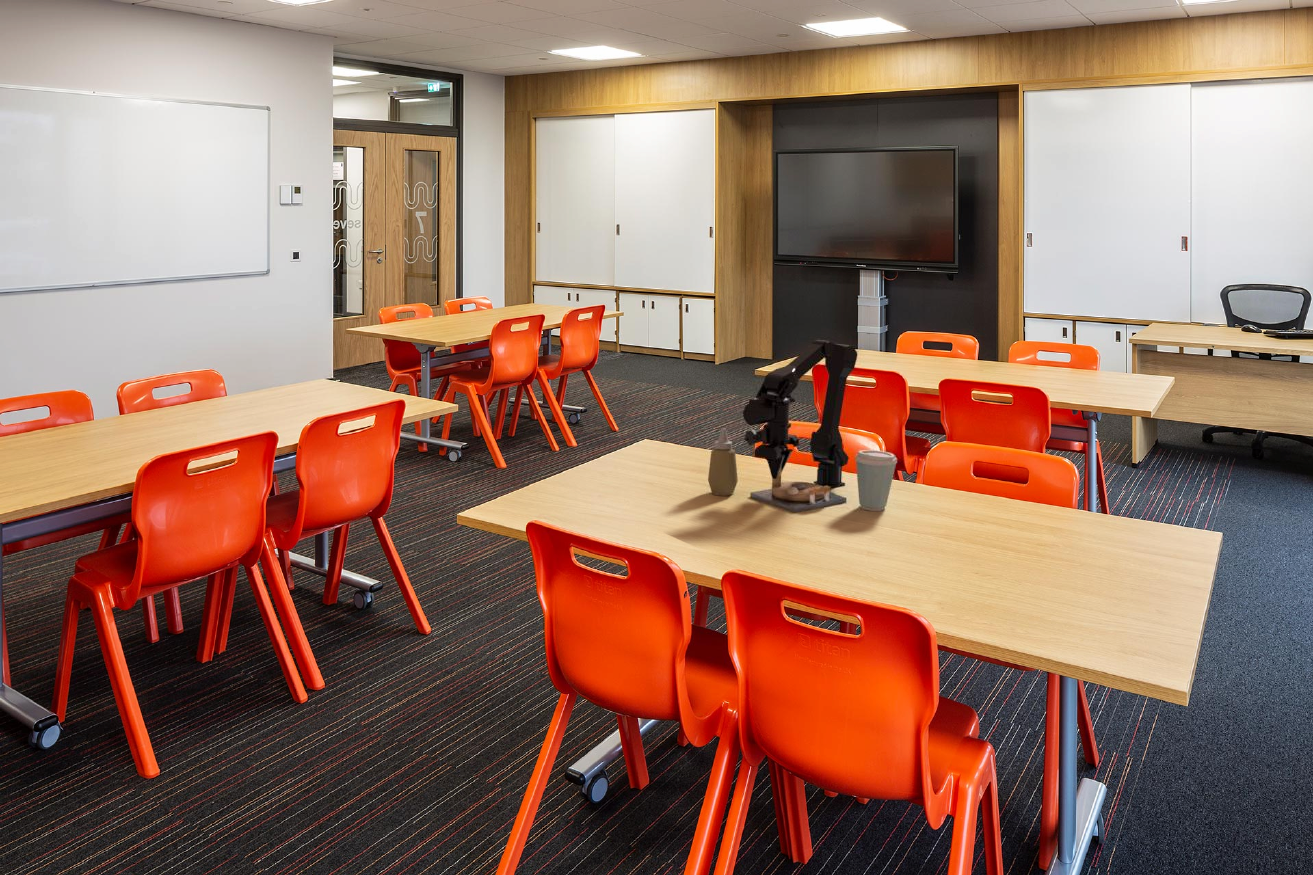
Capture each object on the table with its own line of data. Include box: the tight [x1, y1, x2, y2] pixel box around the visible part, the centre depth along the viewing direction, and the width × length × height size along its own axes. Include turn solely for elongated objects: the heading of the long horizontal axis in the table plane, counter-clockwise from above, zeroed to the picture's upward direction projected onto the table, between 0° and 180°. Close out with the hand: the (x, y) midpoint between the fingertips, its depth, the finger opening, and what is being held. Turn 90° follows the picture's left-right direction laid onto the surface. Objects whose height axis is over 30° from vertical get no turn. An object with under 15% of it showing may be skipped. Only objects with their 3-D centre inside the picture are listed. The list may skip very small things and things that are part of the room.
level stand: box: [749, 486, 847, 513], centre depth 273 cm, size 18×18×5 cm
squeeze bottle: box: [707, 428, 739, 497], centre depth 277 cm, size 8×8×18 cm
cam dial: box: [771, 465, 824, 501], centre depth 272 cm, size 14×14×8 cm
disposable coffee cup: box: [854, 449, 898, 512], centre depth 264 cm, size 11×11×15 cm
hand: (776, 477), depth 274 cm, fingers open, 2 cm apart
